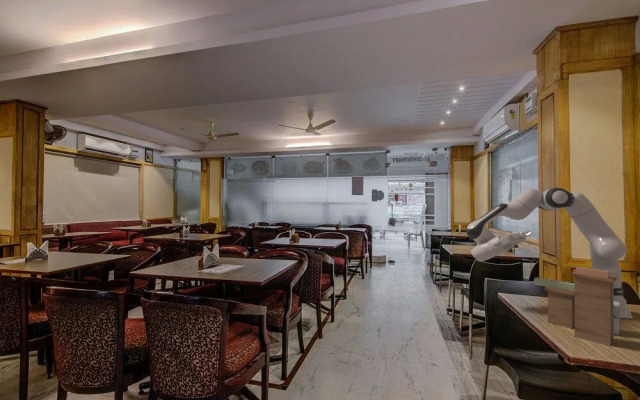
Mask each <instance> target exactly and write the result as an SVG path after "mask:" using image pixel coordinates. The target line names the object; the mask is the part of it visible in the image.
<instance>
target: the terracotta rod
mask: <svg viewBox="0 0 640 400" xmlns="http://www.w3.org/2000/svg"><path fill="white" fill-rule="evenodd" d="M575 271H576V274H580V275H587V276H594V277H601V278H609V271H604V270H596V269H592V268H588V267H580V266H577V267H575Z"/></svg>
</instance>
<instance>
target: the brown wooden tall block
mask: <svg viewBox="0 0 640 400" xmlns="http://www.w3.org/2000/svg"><path fill="white" fill-rule="evenodd" d="M570 277H574V283H575V326H574V337H575V338H577V339H583V340H587V341H590V342H594V343H598V344H603V345H604V346H605V345H606V346H609V347H610V346H611V345H612V344H613V343H614V340H615V339H614V335H615V334H614V281H616V280H617V276H613V275H609V278H601V277H594V276H587V275H580V274H576V270H574V271H573V272H571V273H570Z"/></svg>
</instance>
